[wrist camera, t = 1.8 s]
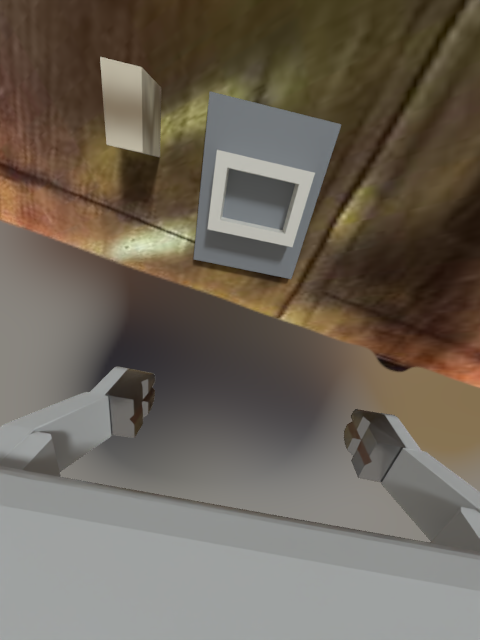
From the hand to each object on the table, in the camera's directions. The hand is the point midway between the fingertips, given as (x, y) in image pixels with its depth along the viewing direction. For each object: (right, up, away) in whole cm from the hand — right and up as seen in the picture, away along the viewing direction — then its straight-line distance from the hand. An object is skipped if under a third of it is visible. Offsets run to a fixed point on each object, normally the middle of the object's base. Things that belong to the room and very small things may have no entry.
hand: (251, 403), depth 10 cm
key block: (-13, +29, +20) cm, 37 cm away
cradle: (+2, +21, +24) cm, 32 cm away
